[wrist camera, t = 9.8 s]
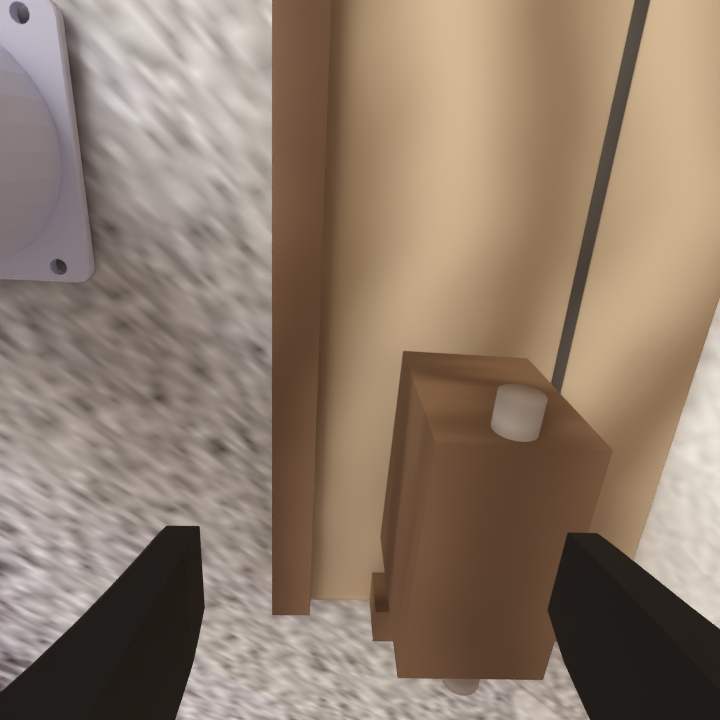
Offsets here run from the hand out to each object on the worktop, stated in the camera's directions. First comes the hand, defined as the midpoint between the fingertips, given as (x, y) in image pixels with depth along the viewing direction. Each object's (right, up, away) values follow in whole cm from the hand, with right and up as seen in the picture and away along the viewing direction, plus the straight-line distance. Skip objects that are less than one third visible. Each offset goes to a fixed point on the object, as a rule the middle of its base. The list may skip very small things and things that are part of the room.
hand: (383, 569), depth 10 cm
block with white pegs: (+3, +1, +9) cm, 10 cm away
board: (+4, +7, +8) cm, 11 cm away
